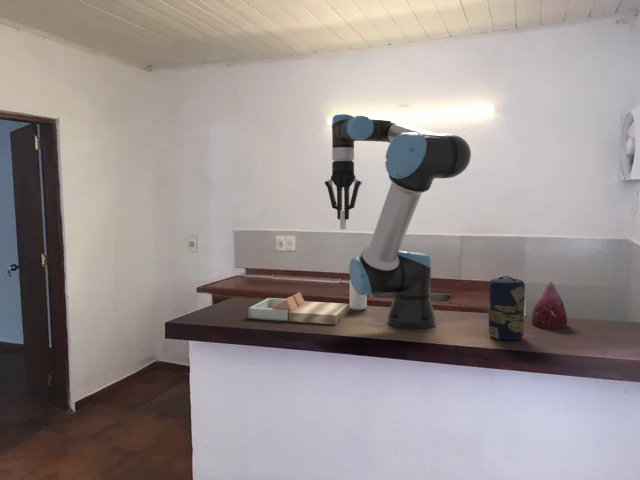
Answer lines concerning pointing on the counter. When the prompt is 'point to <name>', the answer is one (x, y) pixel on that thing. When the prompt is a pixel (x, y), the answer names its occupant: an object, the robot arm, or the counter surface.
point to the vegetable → (549, 310)
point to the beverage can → (357, 299)
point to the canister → (506, 308)
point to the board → (319, 312)
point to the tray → (268, 311)
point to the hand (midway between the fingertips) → (343, 229)
